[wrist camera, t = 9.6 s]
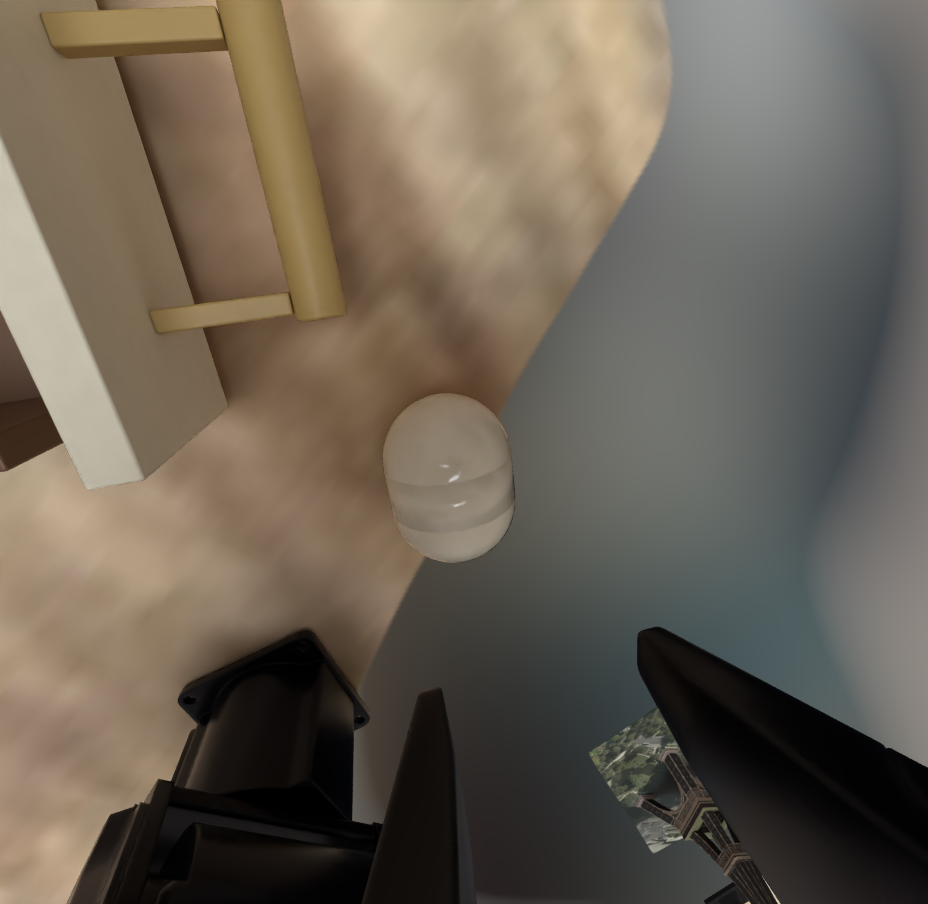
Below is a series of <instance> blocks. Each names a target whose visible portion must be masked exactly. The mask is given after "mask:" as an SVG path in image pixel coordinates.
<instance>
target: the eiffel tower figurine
mask: <svg viewBox="0 0 928 904" xmlns="http://www.w3.org/2000/svg"><path fill="white" fill-rule="evenodd" d="M588 754H589V755H590V757H591V759H592V760H593V762H594V764H595V765H596V767H597V769H598V770H599V772H600V773H601V775H602V776H603V778H604V779H605V781H606V783H607V784H608V786H609V787H610V788H611V790H612V791H613V793H614V794H615V796H616V797H617V799H618V800H619V802H620V803H621V805H622V806H623V807H622V808H624V809H625V810H626V812H627V813H628V815H629V816H630V818H631V819H632V821H633V823H634V824H635V826H636V827H637V829H638V830H639V832H640V833H641V835H642V837H643V838H644V840H645V842H646V843H647V845H648V847H649V848H650V850H651V851H652V853H653V854H654V853H656V852H657V851H659V850H661V849H663V848H665V847H666V846H668V845H670V844H672V843H674V842H676V841H677V840H679V839H681V838H684V839H685V840H693V841H694V842H695V843H696V844H698V845H699V846H700V847H701V848H702V849H703V850H704V851H705V852H706V853H707V854H708V855H709V856H710V857H711V858H712V859H713V860H714V861H715V862H716V863H717V864H718V865H719V866H720V867H721V868H722V869H723V871H724V874H725V876H726V877H730V878H731V879H732V881H733V882H734V883H735V884H736V885H737V886H738V888H739V889H740V890H741V891H742V892H743V894H744V895H745V896H746V898H747V899H748V900H749V902H750V903H751V904H778V903H777V902H776V900H775V898H774V896H773V895H772V893H771V891H770V889H769V887H768V886H767V884H766V882H765V880H764V879H763V877H762V875H761V873H760V872H759V870H758V868H757V867H756V865H755V864H754V862H753V861H752V859H751V858H750V856H749V855H748V853H747V852H746V850H745V849H744V847H743V846H742V844H741V843H740V841H739V840H738V838H737V837H736V835H735V834H734V832H733V831H732V829H731V827H730V826H729V824H728V823H727V821H726V820H725V818H724V817H723V815H722V814H721V812H720V811H719V809H718V808H717V806H716V805H715V803H714V802H713V800H712V799H711V797H710V796H709V794H708V793H707V791H706V790H705V788H704V786H703V785H702V783H701V782H700V780H699V779H698V777H697V776H696V774H695V773H694V771H693V770H692V768H691V767H690V765H689V763H688V762H687V760H686V759H685V757H684V755H683V753H682V752H681V750H680V748H679V746H678V744H677V743H676V741H675V739H674V737H673V735H672V733H671V731H670V730H669V728H668V726H667V724H666V722H665V720H664V718H663V717H662V715H661V713H660V711H659V709H658V707H657V708H655V709H654V710H652V711H650V712H649V713H647V714H646V715H644V716H643V717H641V718H640V719H638V720H637V721H635V722H634V723H633V724H631V725H630V726H628V727H627V728H625V729H624V730H622V731H621V732H619V733H618V734H616V735H615V736H614V737H612V738H611V739H609V740H608V741H606V742H605V743H603V744H602V745H600V746H598V747H597V748H595V749H593V750H592V751H590V752H589V753H588ZM726 828H728V830H729V832H730V834H731V837H732V839H733V841H734V844H733V843H732V842H731V840H730V838H729V837H728V835H727V833H726V832H725V830H726ZM710 839H714V840H715V842H716V843H717V844H718V845H719V847H720V848H721V850H722V852H721V851H720V850H719V849H718V848H717V846H716V845H715V844H714V843H713V842H712V841H711V840H710Z"/></svg>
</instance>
